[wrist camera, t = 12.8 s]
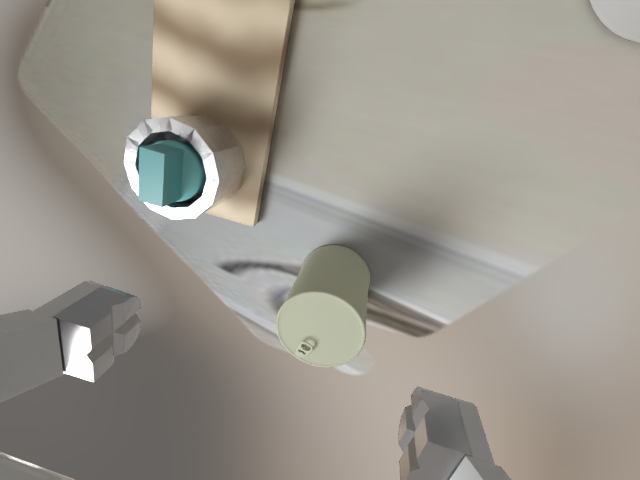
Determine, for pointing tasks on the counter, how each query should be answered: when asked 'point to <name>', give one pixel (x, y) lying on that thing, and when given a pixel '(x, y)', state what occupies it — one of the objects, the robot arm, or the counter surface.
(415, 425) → the robot arm
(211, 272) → the counter surface
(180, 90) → the base plate
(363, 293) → the can
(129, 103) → the counter surface
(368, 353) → the counter surface
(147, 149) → the teal disc with post
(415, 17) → the counter surface
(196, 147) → the white thick faceted ring
